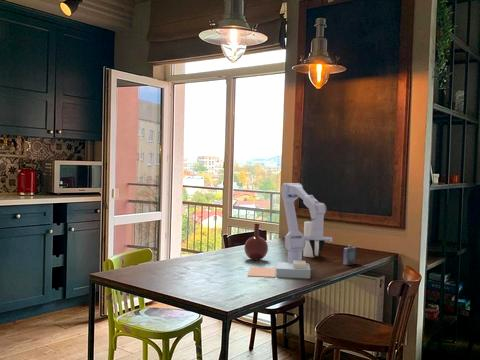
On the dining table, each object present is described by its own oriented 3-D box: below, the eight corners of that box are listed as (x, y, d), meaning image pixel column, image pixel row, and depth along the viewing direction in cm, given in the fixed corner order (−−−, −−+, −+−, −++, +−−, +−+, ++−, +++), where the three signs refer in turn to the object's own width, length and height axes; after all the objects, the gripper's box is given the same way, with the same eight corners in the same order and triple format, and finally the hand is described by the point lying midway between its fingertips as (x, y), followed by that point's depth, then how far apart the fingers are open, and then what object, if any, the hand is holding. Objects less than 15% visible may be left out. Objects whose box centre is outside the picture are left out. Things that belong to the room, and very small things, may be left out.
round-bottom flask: (252, 256, 275) (253, 222, 274) (272, 259, 268) (273, 224, 267) (239, 260, 264) (240, 224, 263) (259, 263, 257) (260, 226, 256)
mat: (250, 268, 245) (250, 267, 245) (275, 269, 244) (275, 268, 244) (247, 276, 227) (247, 275, 227) (275, 277, 226) (275, 276, 226)
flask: (345, 265, 258) (346, 245, 258) (341, 264, 260) (342, 244, 260) (356, 263, 264) (357, 244, 264) (352, 262, 266) (352, 243, 266)
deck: (276, 269, 242) (277, 262, 242) (308, 271, 241) (309, 263, 241) (276, 276, 227) (276, 268, 227) (310, 278, 226) (310, 270, 226)
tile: (293, 264, 238) (293, 260, 238) (305, 264, 237) (305, 260, 237) (293, 267, 230) (293, 263, 230) (306, 268, 229) (306, 264, 229)
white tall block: (311, 257, 277) (312, 223, 276) (300, 256, 281) (301, 222, 280) (319, 254, 287) (321, 221, 286) (308, 253, 291) (310, 220, 290)
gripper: (302, 228, 229) (301, 256, 230) (333, 229, 228) (332, 258, 228) (302, 226, 236) (301, 254, 237) (331, 227, 235) (330, 255, 235)
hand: (316, 255), depth 233 cm, fingers closed
